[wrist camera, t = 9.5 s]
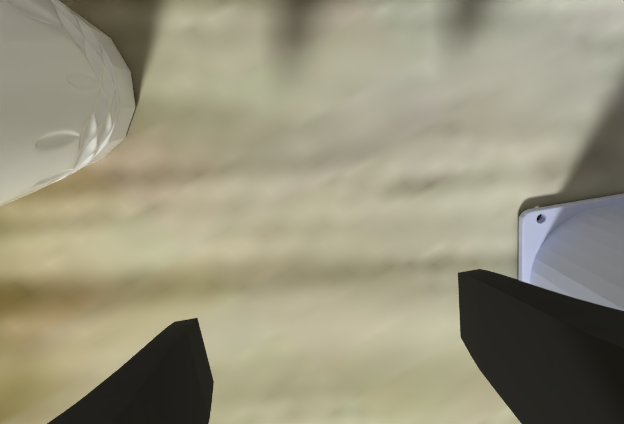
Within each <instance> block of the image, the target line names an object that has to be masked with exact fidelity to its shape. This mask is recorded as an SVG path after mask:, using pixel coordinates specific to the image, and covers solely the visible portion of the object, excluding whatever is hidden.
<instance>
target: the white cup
mask: <svg viewBox="0 0 624 424" xmlns="http://www.w3.org/2000/svg"><path fill="white" fill-rule="evenodd" d="M134 111H135V99H134V92H133V84H132V76H131V71H130V69H129V68H128V66H127V65H126V63H125V61H124V60H123V58H122V56H121V55H120V53H119V51H118V50H117V48H116V46H115V45H114V43H113V41H112V40H111V38H110V37H109V36H107V35H106V34H104V33H103V32H102V31H100V30H99V29H98V28H96V27H95V26H94V25H92V24H91V23H90V22H88V21H87V20H86V19H84V18H83V17H82V16H80V15H79V14H78V13H76V12H74V11H73V10H71V9H69V8H68V7H67V6H66V5H65V4H63V3H62V2H61V1H59V0H0V207H1V206H3V205H5V204H8V203H10V202H12V201H15V200H17V199H20V198H22V197H24V196H27V195H29V194H31V193H33V192H35V191H37V190H40V189H42V188H44V187H46V186H47V185H49V184H52V183H54V182H56V181H59V180H61V179H63V178H65V177H67V176H69V175H71V174H72V173H74V172H76V171H77V170H79V169H81V168H82V167H85V166H87V165H90V164H93V163H95V162H98V161H100V160H102V159H103V158H104V157H105V156H106V155H107V154H108V153H109V152H111V151H112V150H113V149H114V148H115V147H116V146H117V145H118V144H119V143H120V142H122V141H123V140H124V139H125V137H126V134H127V131H128V128H129V125H130V122H131V119H132V116H133V113H134Z"/></svg>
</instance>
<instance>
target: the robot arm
mask: <svg viewBox="0 0 624 424" xmlns="http://www.w3.org/2000/svg"><path fill="white" fill-rule="evenodd" d="M540 214H541V218H540V219H539V220H538V221H537V220H536V219H537V217H538V215H540ZM458 284H459V308H460V331H461V338H462V340H463V342H464V344H465V346H466V347H467V349H468V351H469V353H470V355H471V356H472V358H473V359H474V361H475V363H476V364H477V366H478V368H479V369H480V371H481V372H482V373H483V375H484V376H485V377H486V378H487V380H488V381H489V382H490V384H491V385H492V386H493V388H494V389H495V390H496V391H497V393H498V394H499V395H500V397H501V398H502V399H503V400H504V402H505V403H506V404H507V406H508V407H509V408H510V409H511V411H512V412H513V413H514V414H515V416H516V417H517V418H518V420H519V421H520V422H521V423H522V424H624V193H623V194H617V195H611V196H605V197H599V198H593V199H587V200H581V201H575V202H569V203H563V204H557V205H551V206H545V207H539V208H533V209H527V210H525V211H523V212H522V213H521V215H520V216H519V267H518V280H517V279H514V278H511V277H507V276H504V275H501V274H498V273H494V272H490V271H486V270H481V269H477V270H472V271H466V272H460V273H458ZM213 383H214V382H213V378H212V374H211V370H210V366H209V362H208V358H207V354H206V350H205V346H204V342H203V338H202V335H201V331H200V327H199V323H198V319H197V318H194V319H189V320H183V321H177V322H174V323H172V324H171V325H169V326H168V327H167V328H166V329H164V330H163V331H162V332H161V333H160V334H159V335H157V336H156V337H155V338H154V339H153V340H152V341H150V342H149V343H148V344H147V345H146V346H145V347H144V348H143V349H141V350H140V351H139V352H138V353H137V354H136V355H134V356H133V357H132V358H131V359H130V360H129V361H128V362H126V363H125V364H124V365H123V366H122V367H121V368H119V369H118V370H117V371H116V372H115V373H113V374H112V375H111V376H110V377H108V378H107V379H106V380H105V381H103V382H102V383H101V384H100V385H98V386H97V387H96V388H95V389H94V390H92V391H91V392H90V393H89V394H87V395H86V396H85V397H84V398H82V399H81V400H80V401H78V402H77V403H76V404H74V405H73V406H72V407H70V408H69V409H67V410H66V411H65V412H63V413H62V414H60V415H59V416H58V417H56V418H55V419H53V420H52V421H50V422H49V423H47V424H208V423H209V418H210V410H211V402H212V393H213Z"/></svg>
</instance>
